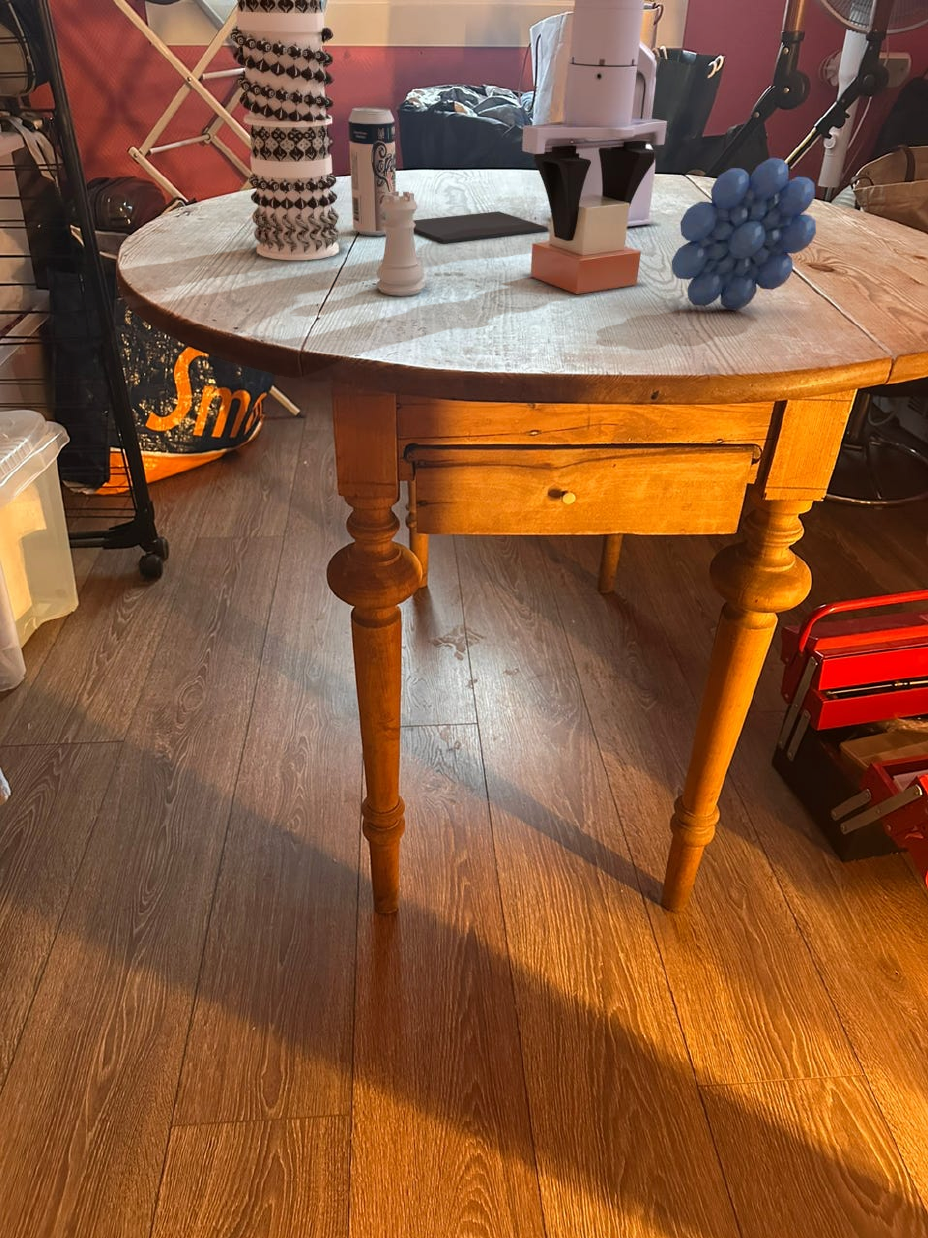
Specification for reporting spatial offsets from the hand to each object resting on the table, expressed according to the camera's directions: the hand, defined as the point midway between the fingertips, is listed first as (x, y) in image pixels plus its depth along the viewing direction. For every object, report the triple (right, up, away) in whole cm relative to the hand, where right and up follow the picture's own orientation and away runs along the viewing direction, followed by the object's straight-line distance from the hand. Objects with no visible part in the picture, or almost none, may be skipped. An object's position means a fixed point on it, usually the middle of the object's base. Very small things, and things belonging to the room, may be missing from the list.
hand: (587, 235), depth 85 cm
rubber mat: (-10, +9, +20) cm, 25 cm away
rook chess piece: (-17, -6, -2) cm, 18 cm away
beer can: (-21, +7, +17) cm, 28 cm away
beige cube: (0, -1, +1) cm, 1 cm away
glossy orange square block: (0, -3, +2) cm, 4 cm away
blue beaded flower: (+12, -8, -4) cm, 15 cm away
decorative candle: (-28, +2, +10) cm, 30 cm away
